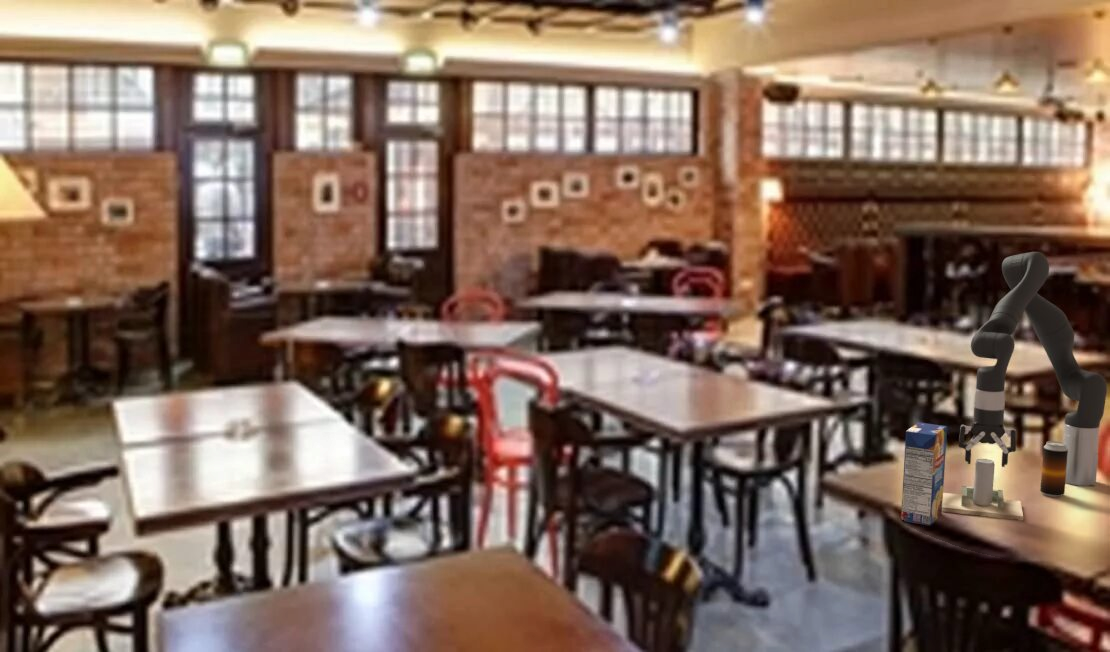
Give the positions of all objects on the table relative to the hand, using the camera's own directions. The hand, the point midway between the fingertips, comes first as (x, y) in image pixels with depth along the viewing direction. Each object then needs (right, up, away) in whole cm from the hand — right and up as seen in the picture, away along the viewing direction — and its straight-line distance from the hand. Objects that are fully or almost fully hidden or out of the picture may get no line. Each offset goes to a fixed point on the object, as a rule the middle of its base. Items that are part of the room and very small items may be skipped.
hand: (985, 464), depth 287 cm
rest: (0, -12, +2) cm, 12 cm away
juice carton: (-19, -13, -6) cm, 24 cm away
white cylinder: (0, -11, +2) cm, 11 cm away
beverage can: (+25, -11, +15) cm, 31 cm away
